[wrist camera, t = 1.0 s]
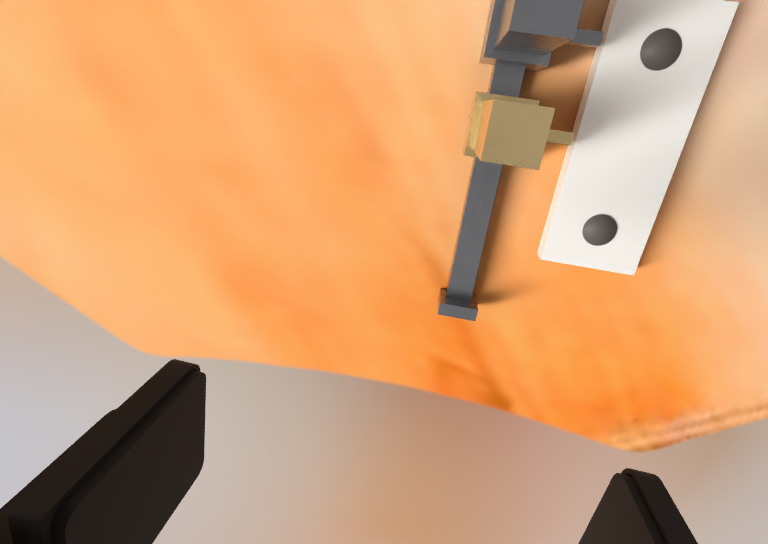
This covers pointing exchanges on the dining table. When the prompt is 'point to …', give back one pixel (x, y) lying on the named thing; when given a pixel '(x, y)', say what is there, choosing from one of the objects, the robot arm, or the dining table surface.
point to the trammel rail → (510, 59)
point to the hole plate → (632, 128)
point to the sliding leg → (511, 130)
